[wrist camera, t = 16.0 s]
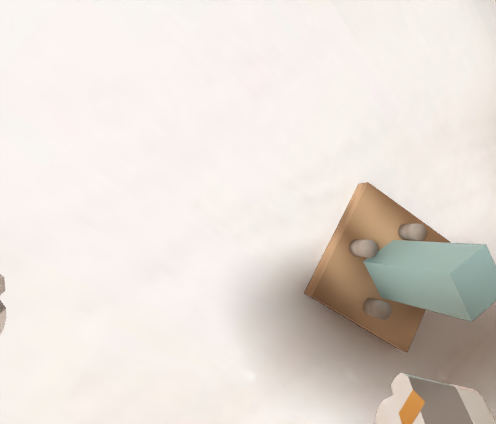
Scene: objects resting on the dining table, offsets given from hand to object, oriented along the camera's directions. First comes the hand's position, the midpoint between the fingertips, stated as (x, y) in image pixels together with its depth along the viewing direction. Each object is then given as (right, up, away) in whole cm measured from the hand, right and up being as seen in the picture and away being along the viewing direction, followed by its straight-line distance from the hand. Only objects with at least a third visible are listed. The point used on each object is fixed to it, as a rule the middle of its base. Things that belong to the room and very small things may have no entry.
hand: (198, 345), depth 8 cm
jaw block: (+14, -3, +30) cm, 33 cm away
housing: (+14, -3, +31) cm, 34 cm away
